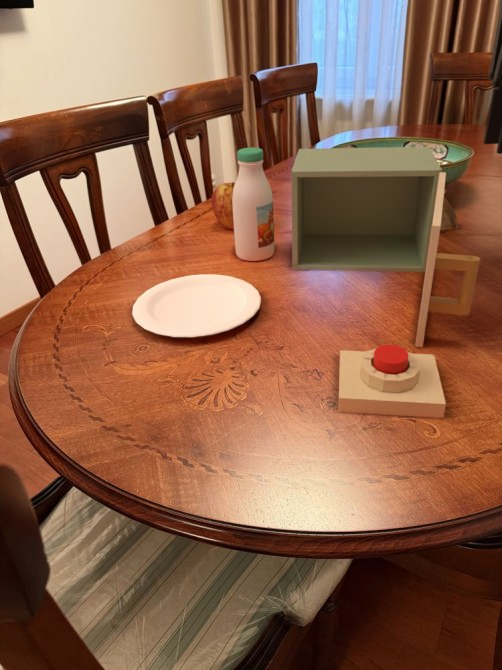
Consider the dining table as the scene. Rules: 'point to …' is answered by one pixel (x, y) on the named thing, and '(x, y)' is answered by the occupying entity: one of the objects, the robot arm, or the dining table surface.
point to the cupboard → (363, 208)
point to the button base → (390, 386)
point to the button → (390, 359)
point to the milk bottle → (252, 208)
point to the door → (447, 263)
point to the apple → (224, 204)
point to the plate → (196, 306)
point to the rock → (448, 217)
